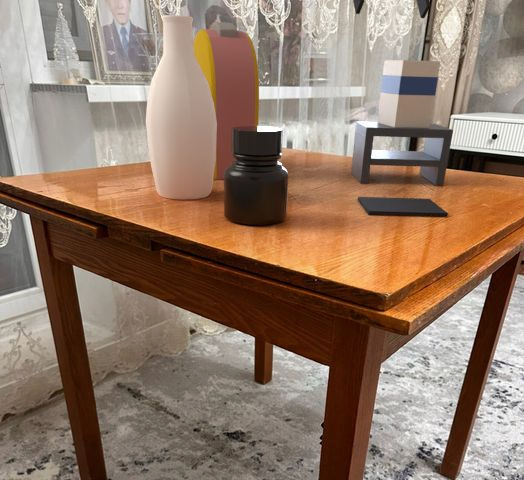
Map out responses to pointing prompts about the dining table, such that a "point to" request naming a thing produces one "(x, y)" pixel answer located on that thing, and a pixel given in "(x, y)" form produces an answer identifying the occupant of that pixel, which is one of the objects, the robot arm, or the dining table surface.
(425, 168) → the shelf
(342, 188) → the dining table surface
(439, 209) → the mat
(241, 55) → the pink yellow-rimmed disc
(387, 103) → the box
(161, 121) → the bottle
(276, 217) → the ink bottle
